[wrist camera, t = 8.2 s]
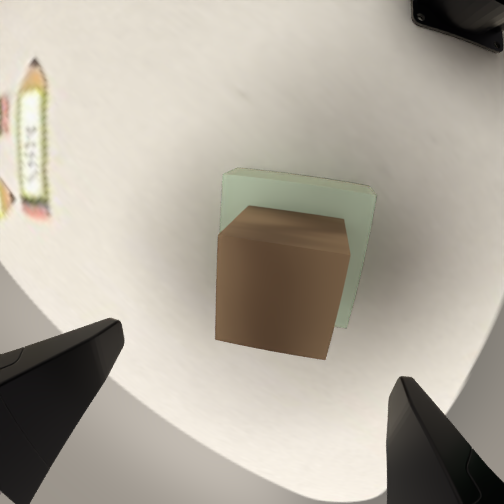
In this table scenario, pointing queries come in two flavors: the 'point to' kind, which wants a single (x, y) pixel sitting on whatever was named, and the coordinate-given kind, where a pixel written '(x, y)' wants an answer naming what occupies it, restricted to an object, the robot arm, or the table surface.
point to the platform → (307, 211)
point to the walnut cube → (280, 280)
